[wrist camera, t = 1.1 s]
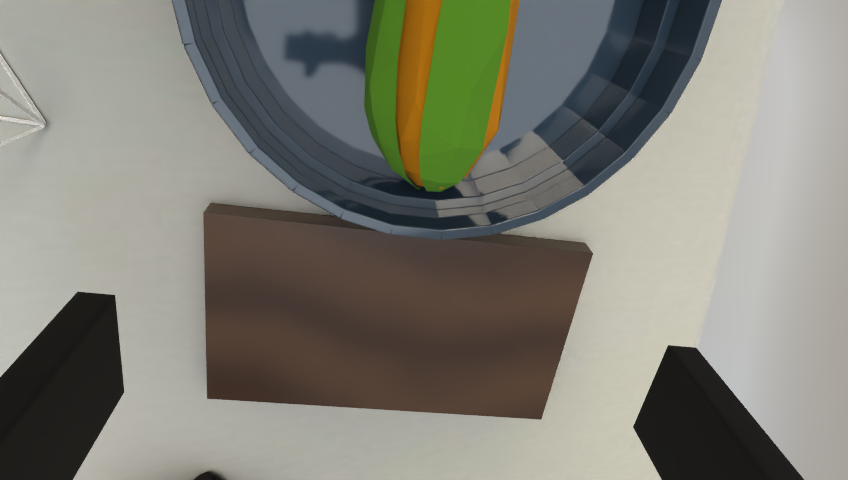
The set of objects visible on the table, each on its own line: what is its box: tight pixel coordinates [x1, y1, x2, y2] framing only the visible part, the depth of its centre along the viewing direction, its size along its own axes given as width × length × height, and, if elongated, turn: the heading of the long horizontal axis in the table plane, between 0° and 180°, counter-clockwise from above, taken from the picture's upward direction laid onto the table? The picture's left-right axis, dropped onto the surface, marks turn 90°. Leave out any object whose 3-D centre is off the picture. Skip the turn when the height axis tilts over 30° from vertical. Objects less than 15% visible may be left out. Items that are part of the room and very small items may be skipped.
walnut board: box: [204, 203, 593, 419], centre depth 38 cm, size 14×24×2 cm, turn 81°
